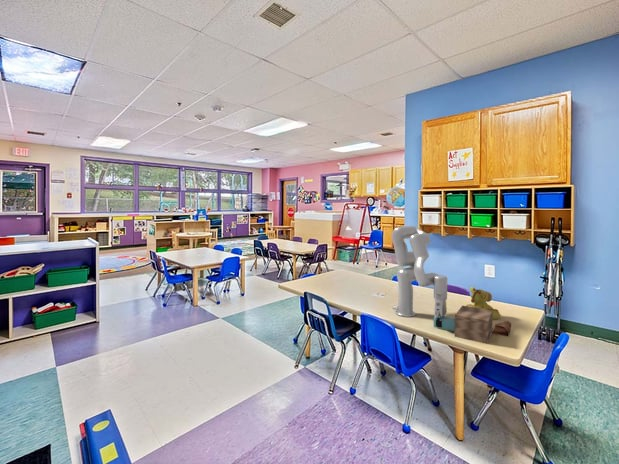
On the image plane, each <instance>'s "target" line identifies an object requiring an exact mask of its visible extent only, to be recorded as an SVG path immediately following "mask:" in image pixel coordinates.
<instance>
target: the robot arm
mask: <svg viewBox="0 0 619 464" xmlns="http://www.w3.org/2000/svg"><path fill="white" fill-rule="evenodd" d="M405 239H406V240H407V239H408V240H409V244H410V246H411V249H412V251H409V249H408V245H407V243H406V241H405ZM391 241H392V245H393V248H394V255H395V259H396V263H397V265H398V266H400V267H405V268H400V269H399V270H398V271H397V273H396V279H397V283H398V284H397V285H398V290H397V291H398V296H397V297H398V304H397V305H392V309H393V310H395V314H396V315H397V316H399V317H404V318H405V317H406V318H411V317H415V316H416V312H415V311H414V287H413V284H412V282H415V281H416V282H417V284H418V285H419V286H421V287H430V286H433V299H434V316H435V315H436V327H442V321H441V316H442V317H443V316H444V317H445V315H446V314H447V312H448V311H447V309H448V308H447V300H448V277H447V275H446V276H445V275H443V274H438V273H436V272H429V273H425V269H424V265H425V262H426V261H427V260H428V258H429V257H430V254H429V252H428V249H427V246H429V245H430V243H431V238H430V236H429V234H428V233H427V232H425V231H423V230H421V229H420V228H418V227H416V226H414V225H406V226H405V225H403V226H397V227H396V228H394V229H393V230H392V232H391ZM439 316H440V317H439ZM436 327H435V328H436Z"/></svg>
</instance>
